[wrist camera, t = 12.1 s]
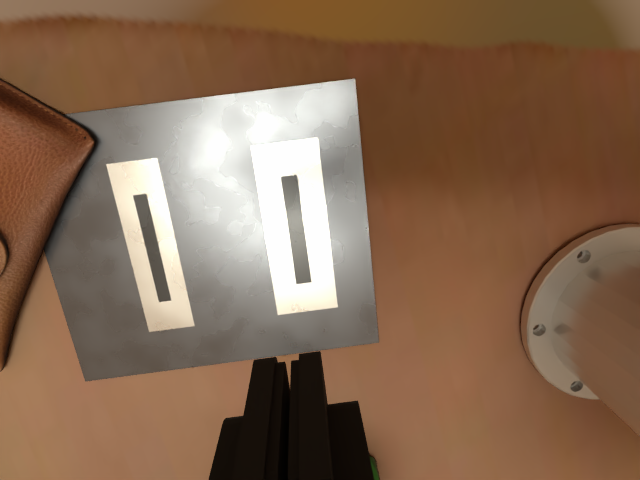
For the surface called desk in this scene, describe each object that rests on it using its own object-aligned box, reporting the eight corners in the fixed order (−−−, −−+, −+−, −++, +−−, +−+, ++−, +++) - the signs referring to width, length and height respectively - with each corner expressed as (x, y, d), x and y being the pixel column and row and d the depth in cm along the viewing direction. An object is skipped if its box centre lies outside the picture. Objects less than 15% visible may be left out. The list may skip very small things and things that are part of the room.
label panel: (354, 78, 25) (355, 78, 25) (378, 341, 30) (379, 342, 29) (6, 122, 25) (3, 121, 24) (86, 379, 29) (85, 381, 29)
